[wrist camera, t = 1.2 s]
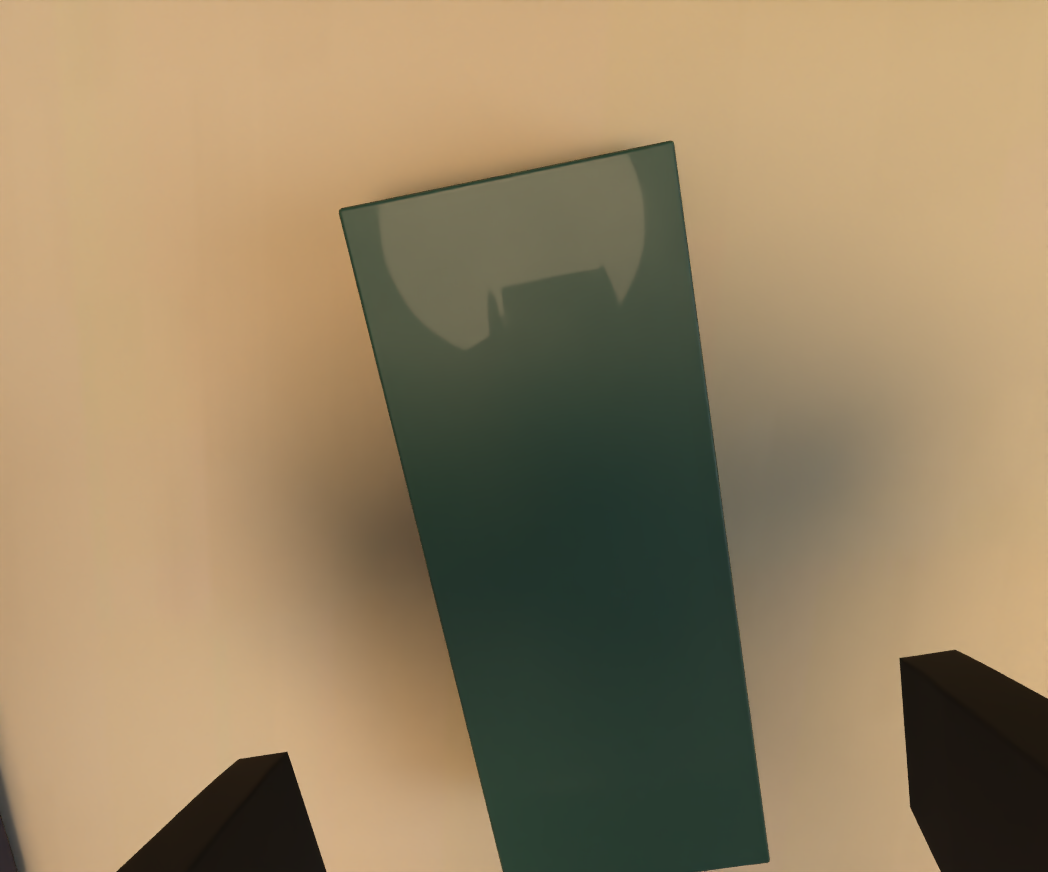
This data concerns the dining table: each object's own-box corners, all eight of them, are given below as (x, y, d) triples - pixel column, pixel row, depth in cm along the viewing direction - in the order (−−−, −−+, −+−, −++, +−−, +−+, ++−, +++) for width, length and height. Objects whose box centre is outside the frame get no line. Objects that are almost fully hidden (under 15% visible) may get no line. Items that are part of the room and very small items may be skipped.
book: (735, 763, 19) (770, 863, 16) (514, 795, 19) (508, 898, 16) (648, 152, 15) (674, 139, 12) (375, 208, 16) (337, 209, 13)
